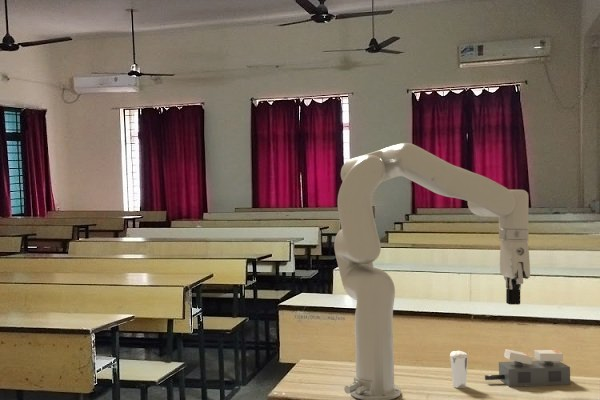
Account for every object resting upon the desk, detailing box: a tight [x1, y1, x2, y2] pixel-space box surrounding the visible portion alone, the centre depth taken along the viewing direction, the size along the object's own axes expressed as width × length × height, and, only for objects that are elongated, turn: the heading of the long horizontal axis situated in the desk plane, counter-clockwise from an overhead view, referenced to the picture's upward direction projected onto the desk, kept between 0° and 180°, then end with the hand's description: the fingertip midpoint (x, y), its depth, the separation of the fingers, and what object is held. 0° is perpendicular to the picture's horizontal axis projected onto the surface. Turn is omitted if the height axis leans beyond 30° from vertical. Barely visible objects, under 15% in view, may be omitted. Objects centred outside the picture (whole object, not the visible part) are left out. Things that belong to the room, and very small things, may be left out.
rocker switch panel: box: [484, 360, 571, 388], centre depth 157 cm, size 21×7×5 cm, turn 92°
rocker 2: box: [533, 349, 564, 362], centre depth 158 cm, size 6×4×2 cm, turn 92°
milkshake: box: [449, 347, 472, 389], centre depth 155 cm, size 4×5×10 cm
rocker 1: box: [503, 348, 534, 364], centre depth 157 cm, size 6×4×2 cm, turn 92°
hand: (513, 303), depth 161 cm, fingers closed
